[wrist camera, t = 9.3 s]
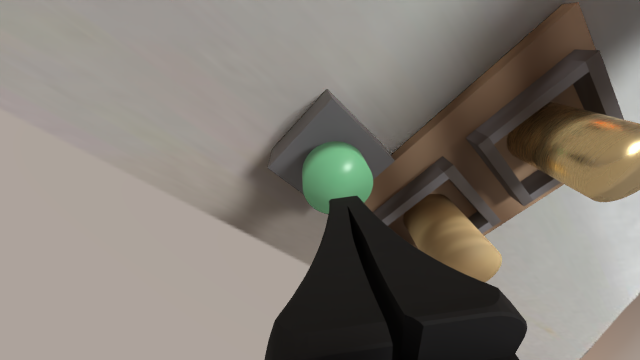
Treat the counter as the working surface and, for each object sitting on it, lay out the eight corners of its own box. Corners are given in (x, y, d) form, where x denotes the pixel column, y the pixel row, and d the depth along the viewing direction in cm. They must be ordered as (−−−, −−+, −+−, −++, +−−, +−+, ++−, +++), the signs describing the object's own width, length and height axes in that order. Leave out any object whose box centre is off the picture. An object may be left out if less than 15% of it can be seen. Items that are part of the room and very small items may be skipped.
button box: (327, 88, 17) (332, 98, 14) (381, 144, 19) (395, 160, 17) (271, 149, 19) (267, 167, 16) (327, 193, 21) (332, 215, 18)
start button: (334, 127, 14) (338, 138, 13) (378, 168, 16) (387, 183, 14) (288, 174, 15) (287, 189, 14) (333, 207, 17) (337, 225, 15)
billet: (561, 88, 17) (676, 111, 12) (572, 135, 19) (675, 173, 14) (499, 127, 18) (580, 164, 13) (515, 168, 20) (591, 214, 15)
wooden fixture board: (562, 4, 15) (733, -18, 9) (615, 137, 21) (747, 179, 14) (335, 204, 22) (349, 268, 16) (418, 267, 27) (453, 334, 21)
